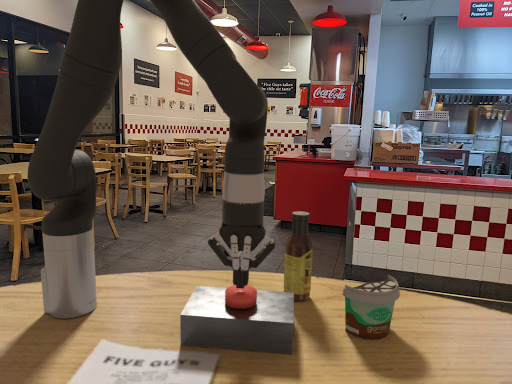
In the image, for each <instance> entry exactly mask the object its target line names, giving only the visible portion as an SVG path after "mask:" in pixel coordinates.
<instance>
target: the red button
mask: <svg viewBox="0 0 512 384" xmlns="http://www.w3.org/2000/svg"><path fill="white" fill-rule="evenodd" d="M226 288H227V289H226V290H225V303H226V304H227V305H228V306H230V307H232V308H237V309H245V308H250V307H252V306H254V305H255V304H256V302H257V290H258V289H257V288H255V287H254V286H252V285H248V284H247V286H245V287H244V289H242V288H236V285H234V284H233V285H230V286H228V287H226Z"/></svg>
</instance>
